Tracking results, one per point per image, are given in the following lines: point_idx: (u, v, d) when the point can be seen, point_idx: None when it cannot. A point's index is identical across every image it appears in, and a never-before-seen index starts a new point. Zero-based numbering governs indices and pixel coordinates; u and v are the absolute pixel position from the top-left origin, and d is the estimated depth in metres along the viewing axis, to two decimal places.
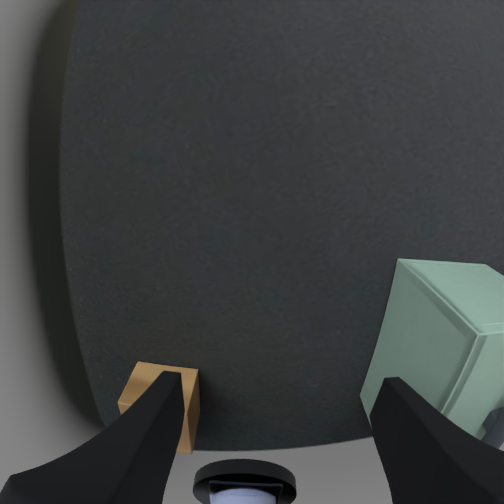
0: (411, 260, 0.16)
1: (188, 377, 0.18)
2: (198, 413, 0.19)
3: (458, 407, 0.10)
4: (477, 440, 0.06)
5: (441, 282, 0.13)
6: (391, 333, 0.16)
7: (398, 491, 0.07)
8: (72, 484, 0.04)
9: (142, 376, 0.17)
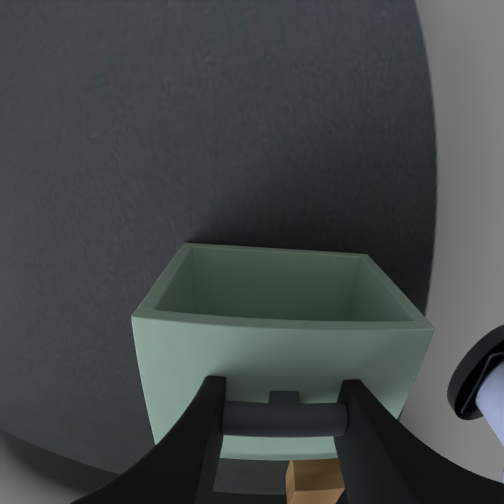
0: None
1: (291, 464, 0.22)
2: (331, 459, 0.22)
3: (241, 448, 0.11)
4: (433, 453, 0.06)
5: None
6: None
7: (353, 499, 0.07)
8: None
9: (287, 484, 0.22)
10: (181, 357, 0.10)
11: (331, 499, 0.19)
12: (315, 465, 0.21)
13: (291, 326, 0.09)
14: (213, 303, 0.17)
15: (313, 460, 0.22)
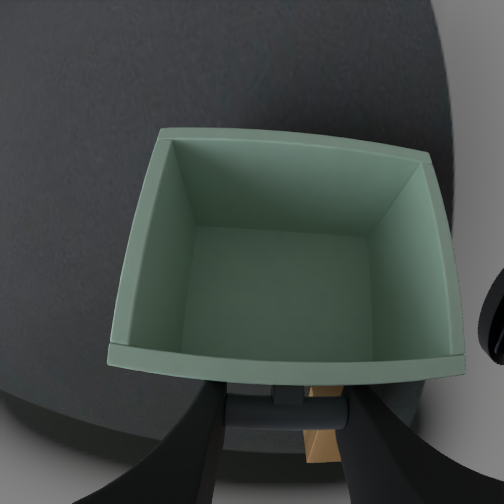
0: None
1: None
2: None
3: None
4: (436, 452, 0.06)
5: None
6: None
7: (356, 499, 0.07)
8: None
9: None
10: None
11: None
12: None
13: (300, 378, 0.07)
14: (212, 192, 0.13)
15: (338, 392, 0.19)
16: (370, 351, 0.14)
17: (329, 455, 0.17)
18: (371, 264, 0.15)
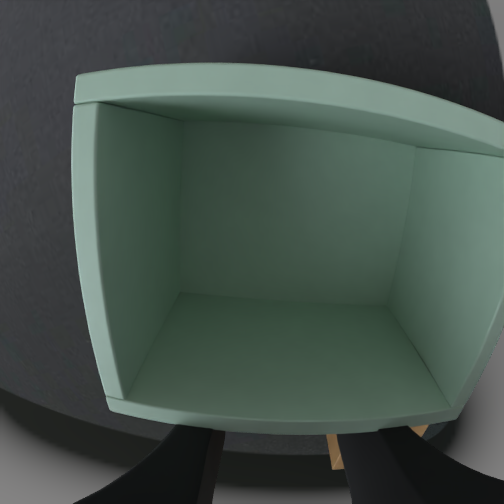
0: None
1: None
2: None
3: None
4: (437, 452, 0.06)
5: None
6: None
7: (357, 498, 0.07)
8: None
9: None
10: None
11: None
12: None
13: (296, 431, 0.07)
14: (195, 112, 0.08)
15: None
16: (388, 286, 0.13)
17: None
18: (414, 189, 0.11)
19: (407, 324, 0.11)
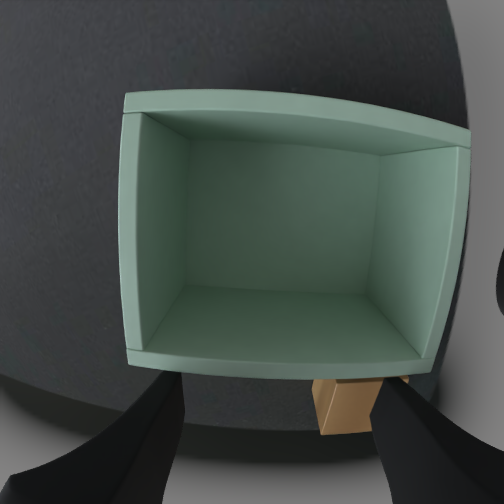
0: None
1: None
2: None
3: None
4: (477, 440, 0.06)
5: None
6: None
7: (398, 491, 0.07)
8: (72, 484, 0.04)
9: (316, 395, 0.17)
10: None
11: None
12: None
13: (288, 374, 0.09)
14: (203, 129, 0.10)
15: None
16: (365, 276, 0.15)
17: (348, 423, 0.15)
18: (380, 190, 0.14)
19: (381, 303, 0.13)
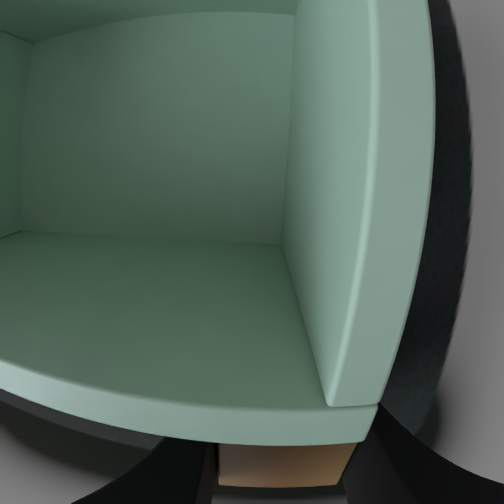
0: None
1: None
2: None
3: None
4: (433, 453, 0.06)
5: None
6: None
7: (353, 499, 0.07)
8: None
9: None
10: None
11: (332, 458, 0.08)
12: None
13: None
14: (0, 7, 0.04)
15: None
16: (279, 211, 0.09)
17: (261, 475, 0.08)
18: (293, 60, 0.07)
19: (290, 253, 0.07)
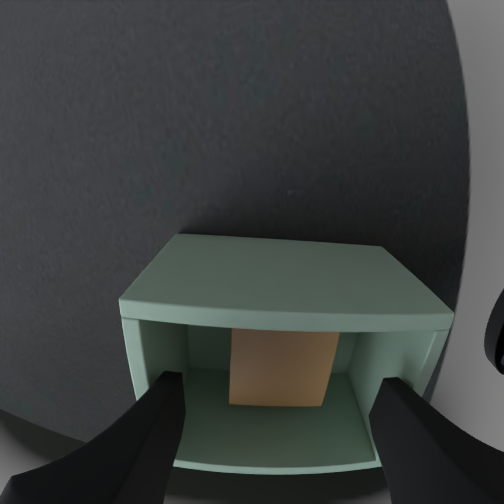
0: None
1: None
2: None
3: None
4: (476, 440, 0.06)
5: None
6: None
7: (397, 491, 0.07)
8: (74, 485, 0.04)
9: None
10: None
11: (316, 374, 0.12)
12: None
13: (271, 472, 0.11)
14: None
15: None
16: (348, 360, 0.16)
17: (262, 391, 0.12)
18: None
19: (357, 394, 0.14)
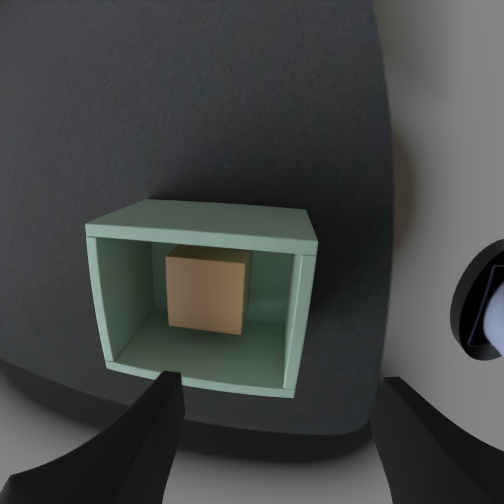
0: None
1: None
2: None
3: None
4: (477, 440, 0.06)
5: None
6: None
7: (398, 491, 0.07)
8: (72, 484, 0.04)
9: None
10: None
11: (231, 302, 0.16)
12: None
13: (192, 384, 0.15)
14: None
15: None
16: (284, 311, 0.20)
17: (191, 314, 0.16)
18: None
19: (284, 337, 0.18)
